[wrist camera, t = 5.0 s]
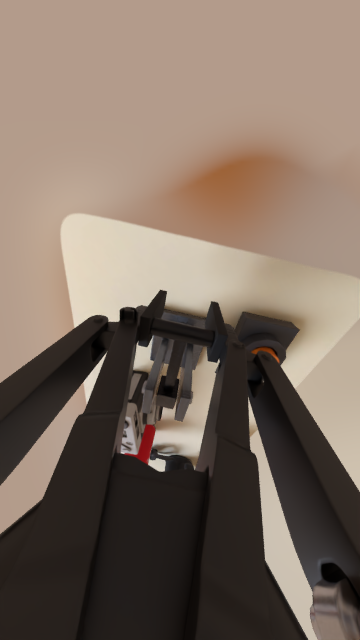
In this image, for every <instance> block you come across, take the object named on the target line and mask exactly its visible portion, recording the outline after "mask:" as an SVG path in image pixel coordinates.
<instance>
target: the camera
mask: <svg viewBox="0 0 360 640" xmlns="http://www.w3.org/2000/svg"><path fill="white" fill-rule="evenodd" d="M147 380H148V373H146V372H139V371H133V373H132V379H131V386H130V392H129V399H128V405H127V412H126V418H125V424H124V431H123V437H122V444H121V452H123V453H129V454H138V451H139V447H140V444H141V441H142V437H143V434H144V430H145V427H146V424H155V423H156V420H157V421H160V419H161V415H162V410H163V407H161V406H157V405H155V404H156V398H157V396H156V395H155V397H154V400H153V404H152V408H151V411H150V414H147V413H143V412H142V404H143V396H144V393H142V388H143V384H144V382H145V381H147Z"/></svg>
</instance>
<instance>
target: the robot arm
mask: <svg viewBox="0 0 360 640" xmlns="http://www.w3.org/2000/svg"><path fill="white" fill-rule="evenodd" d="M166 295H167V291H163V290H160V291H159V292H158V294H157V295H156V296H155V298H154V299H153V300H152V302H151V303H150V304H149V306H148V307H147V306H142V305H141V306H138V307H137V308H132V307H124V308H122V309H120V321H119V322H108V318H107V317H106V316H102V315H95V316H92V317H90V318H88V319H87V320H85V321H84V322H83V323H81V324H80V325H79V326H77V327H76V328H74V329H73V330H72V331H71V332H69V333H68V334H66V335H65V336H64V337H62V338H61V339H60V340H58V341H57V342H55V343H54V344H53V345H52V346H50V347H49V348H47V349H46V350H45V351H43V352H42V353H41V354H39V355H38V356H36V357H35V358H34V359H32V360H31V361H30V362H28V363H27V364H26V365H25V366H23V367H22V368H20V369H19V370H18V371H16V372H15V373H13V374H12V375H11V376H9V377H8V378H7V379H5V380H4V381H3V382H1V383H0V485H1V484H2V483H3V482H4V481H5V480H6V478H7V477H8V476H9V475H10V474H11V472H12V471H13V470H14V469H15V468H16V466H17V465H18V464H19V463H20V461H21V460H22V459H23V458H24V456H25V455H26V454H27V453H28V451H29V450H30V449H31V448H32V446H33V445H34V444H35V443H36V441H37V440H38V439H39V437H40V436H41V435H42V434H43V432H44V431H45V430H46V429H47V427H48V426H49V425H50V423H51V422H52V421H53V420H54V418H55V417H56V416H57V415H58V413H59V412H60V411H61V410H62V408H63V407H64V406H65V404H66V403H67V402H68V401H69V399H70V398H71V397H72V396H73V394H74V393H75V392H76V390H77V389H78V388H79V387H80V385H81V384H82V383H83V382H84V380H85V379H86V378H87V377H88V375H89V374H90V373H91V371H92V370H93V369H94V368H95V366H96V365H97V364H98V363H99V361H100V360H101V359H102V357H103V356H104V355H105V354H106V352H107V351H108V352H107V354H106V357H105V360H104V362H103V365H102V367H101V370H100V373H99V375H98V378H97V380H96V383H95V385H94V388H93V391H92V393H91V396H90V398H89V401H88V404H87V406H86V409H85V411H84V413H83V414H81V415H79V416H78V417H77V419H76V421H75V423H74V425H73V427H72V430H71V432H70V435H69V437H68V439H67V442H66V444H65V446H64V449H63V451H62V454H61V456H60V458H59V461H58V463H57V466H56V468H55V470H54V473H53V475H52V478H51V480H50V483H49V485H48V487H47V490H46V492H45V495H44V497H43V499H42V500H41V501H39V502H38V503H37V504H36V505H35V506H34V507H32V508H31V509H30V510H29V511H28V512H26V513H25V514H24V515H23V516H22V517H20V518H19V519H18V520H17V521H16V522H14V523H13V524H12V525H11V526H10V527H8V528H7V529H6V530H5V531H4V532H2V533H1V534H0V640H308V638H307V637H306V635H305V633H304V631H303V629H302V627H301V626H300V624H299V622H298V620H297V618H296V616H295V614H294V613H293V611H292V609H291V607H290V605H289V604H288V602H287V600H286V598H285V596H284V594H283V592H282V591H281V589H280V587H279V585H278V583H277V581H276V579H275V577H274V576H273V574H272V572H271V570H270V569H269V566H268V565H267V563H266V561H265V554H264V541H263V540H264V539H263V526H262V512H261V498H260V484H259V471H258V462H257V458H256V455H255V454H254V453H252V452H251V450H250V437H249V410H248V397H249V400H250V404H251V407H252V410H253V414H254V417H255V420H256V424H257V427H258V430H259V434H260V437H261V440H262V444H263V447H264V450H265V453H266V457H267V460H268V463H269V467H270V470H271V473H272V477H273V480H274V483H275V487H276V490H277V493H278V497H279V500H280V503H281V507H282V510H283V513H284V516H285V520H286V523H287V526H288V529H289V532H290V535H291V538H292V541H293V544H294V547H295V550H296V553H297V555H298V558H299V560H300V563H301V565H302V568H303V570H304V573H305V575H306V578H307V580H308V582H309V585H310V587H311V589H312V591H313V595H312V596H313V604H312V606H311V608H310V619H311V623H312V627H313V630H314V632H315V634H316V636H317V639H318V640H360V492H359V490H358V488H357V487H356V485H355V484H354V482H353V481H352V479H351V477H350V476H349V474H348V473H347V471H346V469H345V468H344V466H343V465H342V463H341V462H340V460H339V458H338V457H337V455H336V454H335V452H334V450H333V449H332V447H331V446H330V444H329V443H328V441H327V439H326V438H325V436H324V435H323V433H322V431H321V430H320V428H319V427H318V425H317V423H316V422H315V420H314V419H313V417H312V416H311V414H310V413H309V411H308V409H307V408H306V406H305V405H304V403H303V401H302V400H301V398H300V396H299V395H298V393H297V392H296V390H295V388H294V387H293V385H292V384H291V382H290V381H289V379H288V377H287V376H286V374H285V373H284V371H283V369H282V368H281V366H280V365H279V363H278V362H277V360H276V359H275V357H274V356H273V355H271V354H270V353H268V352H265V351H258V352H257V354H254V353H252V352H249V351H247V350H246V346H245V345H244V344H243V343H242V342H240V341H239V340H238V338H237V335H236V333H235V330H234V328H233V327H232V326H231V325H229V324H225V323H224V320H223V317H222V314H221V310H220V307H219V304H218V303H217V302H212V301H211V304H210V307H209V311H208V314H207V317H206V320H205V329H209V330H213V331H214V332H215V338H214V343H213V345H212V347H211V348H208V347H207V357H208V361H211V362H215V363H217V362H218V359H219V360H220V363H219V365H218V367H217V369H216V372H215V373H216V378H215V382H214V387H213V392H212V397H211V401H210V406H209V411H208V416H207V420H206V425H205V430H204V435H203V439H202V444H201V449H200V454H199V458H198V462H197V465H196V468H195V470H192V469H180V470H172V471H165V472H159V471H157V470H155V469H154V468H152V467H151V466H149V465H147V464H146V463H144V462H143V461H141V460H140V459H138V458H136V457H134V456H130V455H125V454H121V444H122V437H123V431H124V424H125V418H126V412H127V405H128V399H129V392H130V386H131V379H132V373H133V366H134V360H135V353H136V345H137V342H138V340H139V342H138V345H139V346H144V347H148V345H149V343H150V341H151V339H152V336H153V335H151V334H150V328H151V323H152V321H153V319H154V318H160V319H161V317H162V315H163V313H164V307H165V301H166ZM263 381H264V382H263Z"/></svg>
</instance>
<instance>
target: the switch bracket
mask: <svg viewBox="0 0 360 640" xmlns="http://www.w3.org/2000/svg"><path fill="white" fill-rule="evenodd" d="M161 319H164V320H169V321H173V322H178V323H182V324H187V325H191V326H196V327H200V328H205V320H206V318H202V317H198V316H193V315H189V314H184V313H180V312H175V311H171V310H166V309H164V313H163V315H162V317H161ZM173 341H174V340H172V339H168V338H163V337H159V336H154V335H153V342H152V349H151V357H150V360H153V361H154V364H153V366H152V369H151V372H150V375H149V377H148V380H147V381H145V382H144V384H143V388H142V393H144V396H143V404H142V412H143V413H147V414H150V411H151V408H152V404H153V400H154V397H155V393H156V390H157V386H158V383H159V379H160V375H161V372H162V368H163V365H164V363H166V364H169V360H170V355H171V351H172V346H173ZM202 347H203V346H199V345H194V344H190V343H187V344H186V348H185V351H184V355H183V358H182V362H181V365H180V367H181V375H180V382H179V390H178V397H177V404H176V412H175V420H177V421H182V422H183V419H184V416H185V414H186V411H187V408H188V406H189V404H191V402H192V398H193V392H192V391H191V387H192V370H195V368H196V365H197V362H198V359H199V356H200V353H201V350H202Z"/></svg>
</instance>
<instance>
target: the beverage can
mask: <svg viewBox="0 0 360 640" xmlns="http://www.w3.org/2000/svg"><path fill="white" fill-rule="evenodd" d="M154 435H155V427H154V426H153V424H146V427H145V430H144V434H143V437H142V441H141V444H140V447H139V451H138V454H129V453H125V455H130V456H134V457H136V458H138V459H140V460H141V461H143V462H144V463H146V464H147V465H148V462H149V458H150V453H151V448H152V444H153V439H154Z"/></svg>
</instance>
